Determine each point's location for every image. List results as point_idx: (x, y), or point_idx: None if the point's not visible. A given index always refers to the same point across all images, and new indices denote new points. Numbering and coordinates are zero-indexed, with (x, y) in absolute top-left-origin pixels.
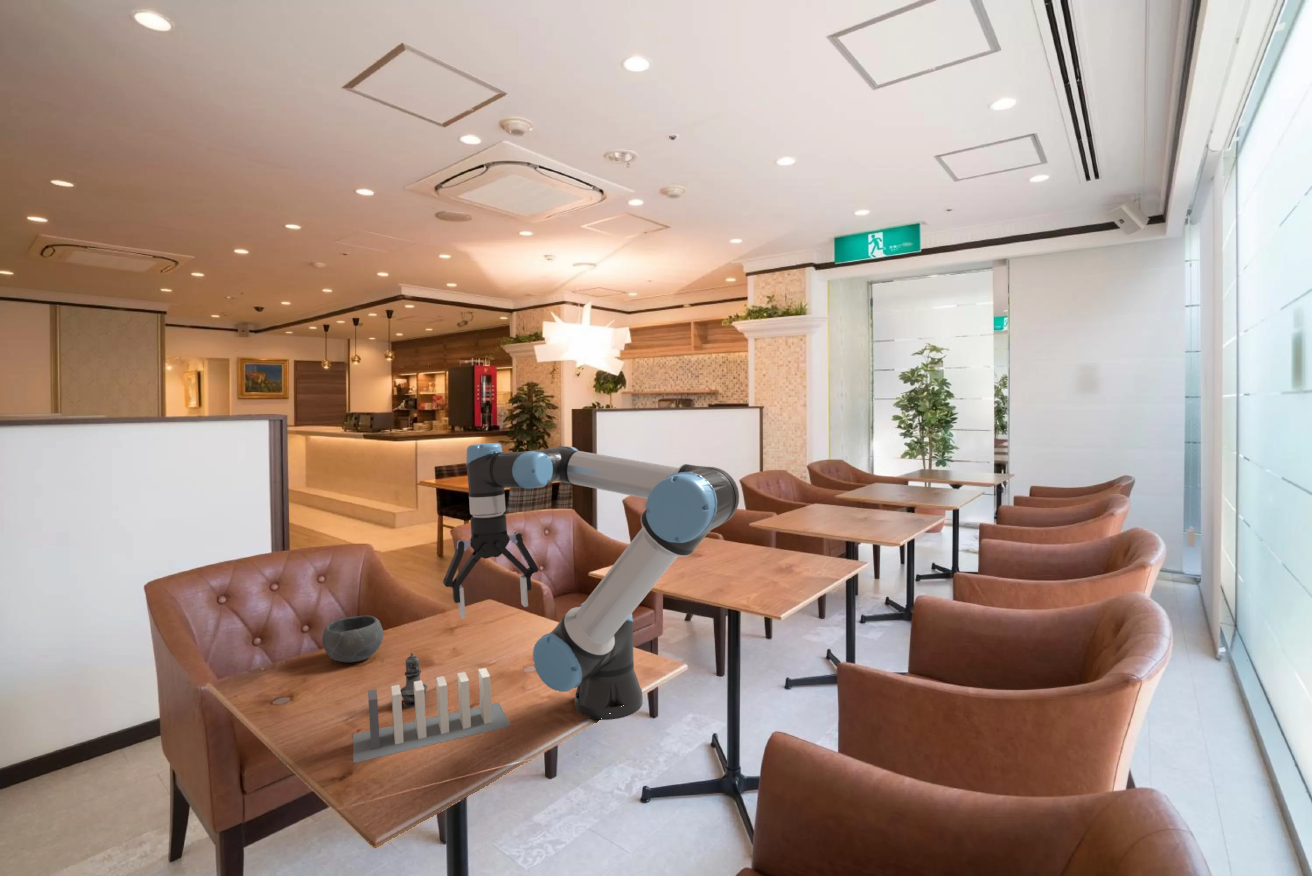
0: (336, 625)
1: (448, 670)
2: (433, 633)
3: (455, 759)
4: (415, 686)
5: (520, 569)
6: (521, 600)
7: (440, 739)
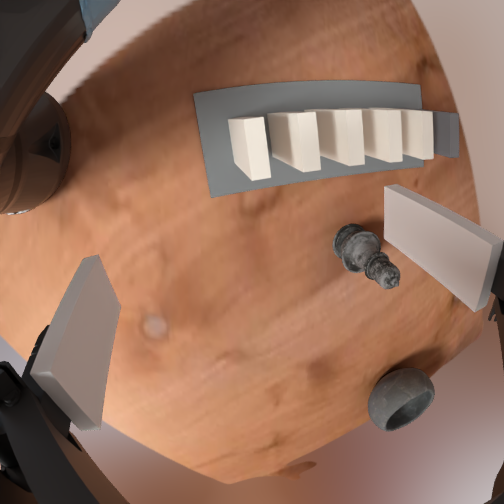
0: (416, 411)
1: (291, 345)
2: (298, 435)
3: (293, 26)
4: (400, 134)
5: (49, 439)
6: (116, 314)
7: (318, 90)
